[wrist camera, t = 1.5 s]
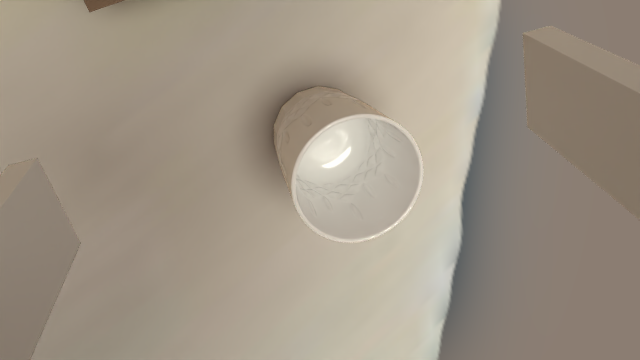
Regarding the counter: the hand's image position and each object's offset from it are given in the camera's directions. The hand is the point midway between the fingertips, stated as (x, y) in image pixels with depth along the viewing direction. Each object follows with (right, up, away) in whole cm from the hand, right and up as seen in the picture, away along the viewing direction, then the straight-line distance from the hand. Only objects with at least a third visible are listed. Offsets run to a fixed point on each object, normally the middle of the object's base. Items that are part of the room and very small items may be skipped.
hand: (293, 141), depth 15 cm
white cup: (+1, +3, +26) cm, 27 cm away
